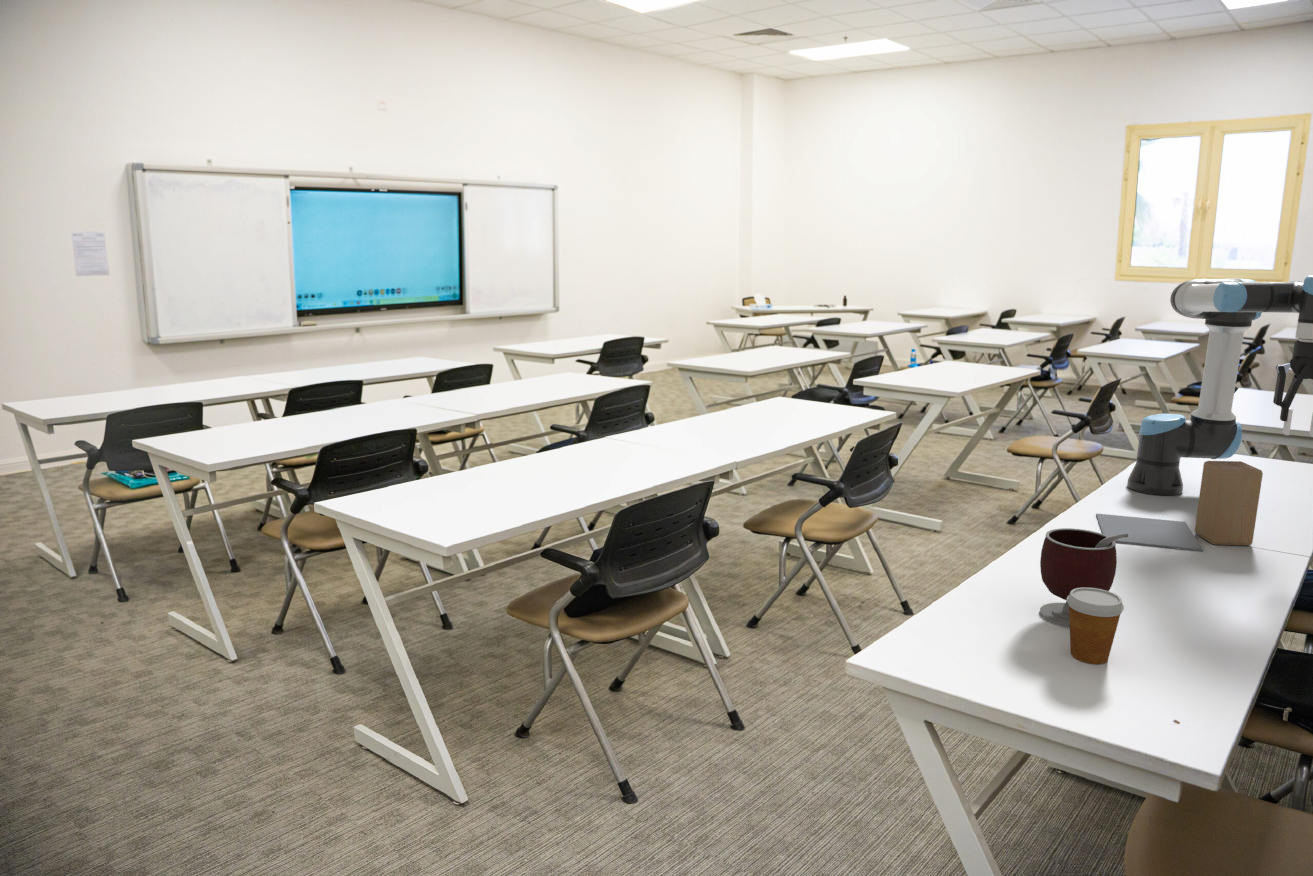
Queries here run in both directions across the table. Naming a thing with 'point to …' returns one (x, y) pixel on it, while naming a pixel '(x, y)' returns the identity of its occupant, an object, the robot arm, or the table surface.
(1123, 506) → the table surface
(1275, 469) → the table surface
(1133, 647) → the table surface
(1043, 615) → the mate gourd
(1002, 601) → the table surface
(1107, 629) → the disposable coffee cup
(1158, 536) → the mat
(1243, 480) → the wooden block
